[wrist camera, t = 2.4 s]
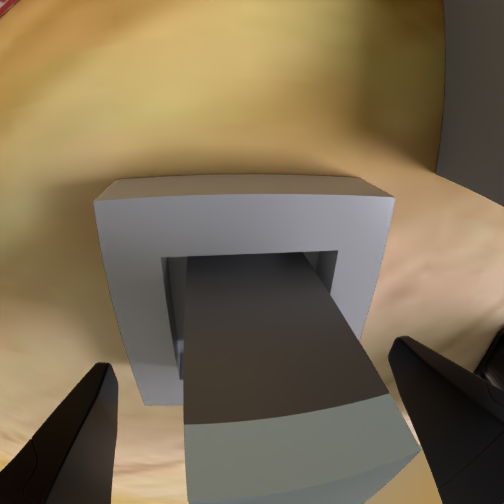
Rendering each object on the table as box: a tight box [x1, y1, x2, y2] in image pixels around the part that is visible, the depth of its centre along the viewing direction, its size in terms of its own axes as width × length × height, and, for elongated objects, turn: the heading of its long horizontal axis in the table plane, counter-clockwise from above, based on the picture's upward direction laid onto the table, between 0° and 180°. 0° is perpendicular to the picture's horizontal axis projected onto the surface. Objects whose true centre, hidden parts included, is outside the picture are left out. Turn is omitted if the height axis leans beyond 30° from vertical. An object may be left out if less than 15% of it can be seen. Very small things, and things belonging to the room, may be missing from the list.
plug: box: [183, 252, 421, 504], centre depth 8 cm, size 4×4×8 cm
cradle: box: [93, 174, 395, 405], centre depth 11 cm, size 9×9×2 cm
